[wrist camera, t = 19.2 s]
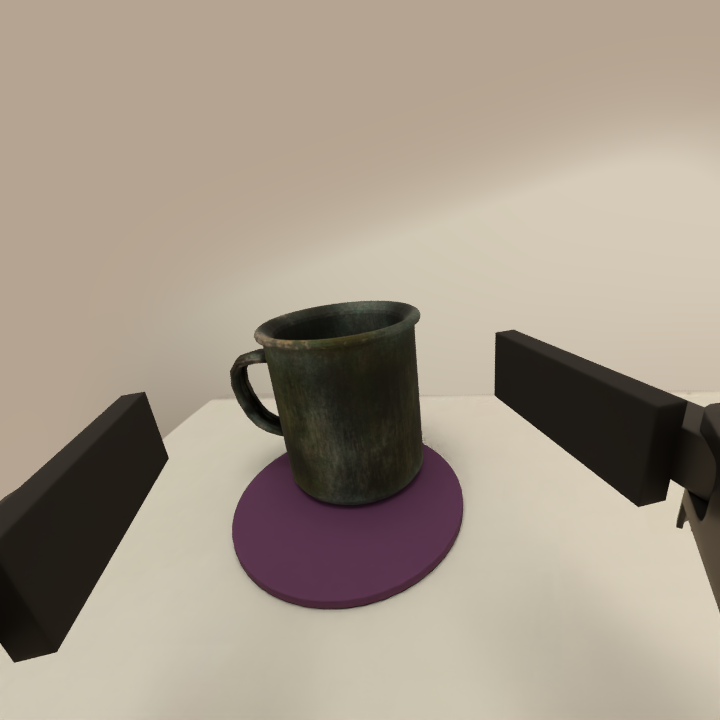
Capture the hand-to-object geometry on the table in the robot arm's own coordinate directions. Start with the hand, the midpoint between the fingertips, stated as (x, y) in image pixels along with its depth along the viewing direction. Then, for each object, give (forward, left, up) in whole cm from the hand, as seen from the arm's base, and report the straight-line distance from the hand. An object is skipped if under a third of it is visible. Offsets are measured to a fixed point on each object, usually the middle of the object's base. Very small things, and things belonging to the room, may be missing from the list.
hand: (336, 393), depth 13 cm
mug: (-12, +2, -12) cm, 17 cm away
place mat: (-8, +2, -12) cm, 15 cm away
